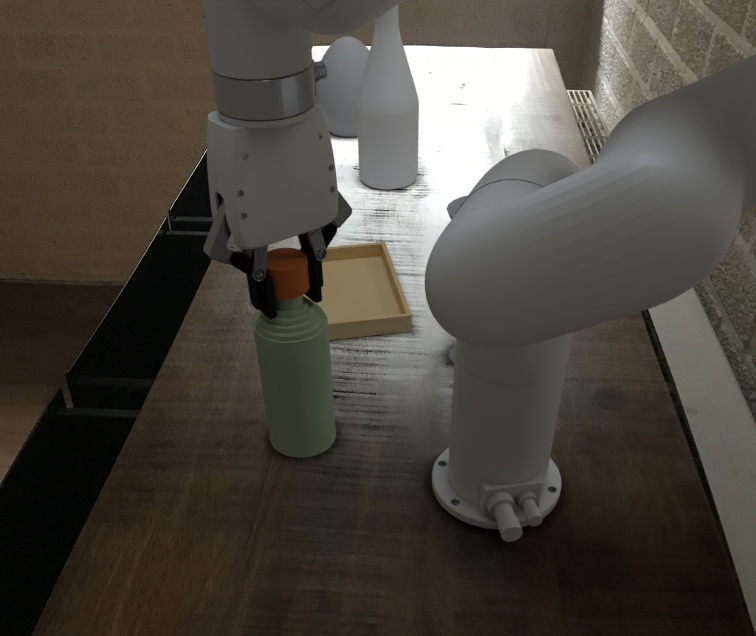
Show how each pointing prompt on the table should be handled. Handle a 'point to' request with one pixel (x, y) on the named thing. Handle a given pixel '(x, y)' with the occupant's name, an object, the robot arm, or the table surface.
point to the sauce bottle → (296, 377)
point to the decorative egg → (342, 84)
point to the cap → (288, 272)
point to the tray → (362, 292)
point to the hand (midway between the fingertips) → (288, 302)
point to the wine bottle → (387, 111)
